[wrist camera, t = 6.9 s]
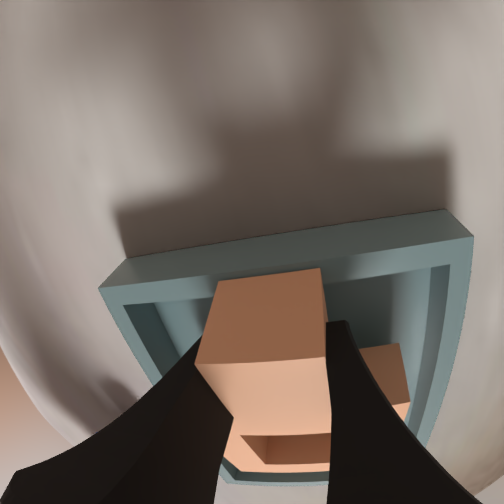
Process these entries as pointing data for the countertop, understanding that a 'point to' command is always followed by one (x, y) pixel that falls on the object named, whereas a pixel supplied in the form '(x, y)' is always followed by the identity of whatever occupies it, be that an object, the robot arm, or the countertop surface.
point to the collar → (281, 370)
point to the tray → (336, 297)
